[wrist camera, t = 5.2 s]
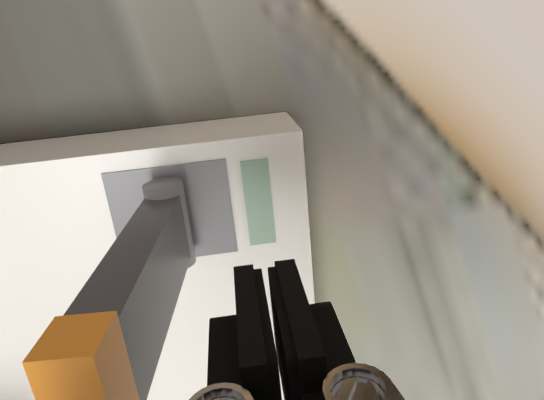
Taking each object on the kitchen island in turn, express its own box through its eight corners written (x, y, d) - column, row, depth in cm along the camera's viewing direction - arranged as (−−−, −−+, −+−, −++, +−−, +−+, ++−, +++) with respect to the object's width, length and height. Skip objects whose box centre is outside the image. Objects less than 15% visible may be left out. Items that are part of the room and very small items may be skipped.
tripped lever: (185, 175, 19) (95, 347, 9) (198, 252, 20) (133, 479, 10) (147, 179, 19) (13, 354, 9) (162, 255, 20) (62, 485, 10)
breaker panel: (286, 111, 24) (302, 131, 19) (306, 357, 30) (323, 420, 25) (-195, 166, 22) (-308, 203, 17) (-74, 415, 28) (-134, 494, 23)
